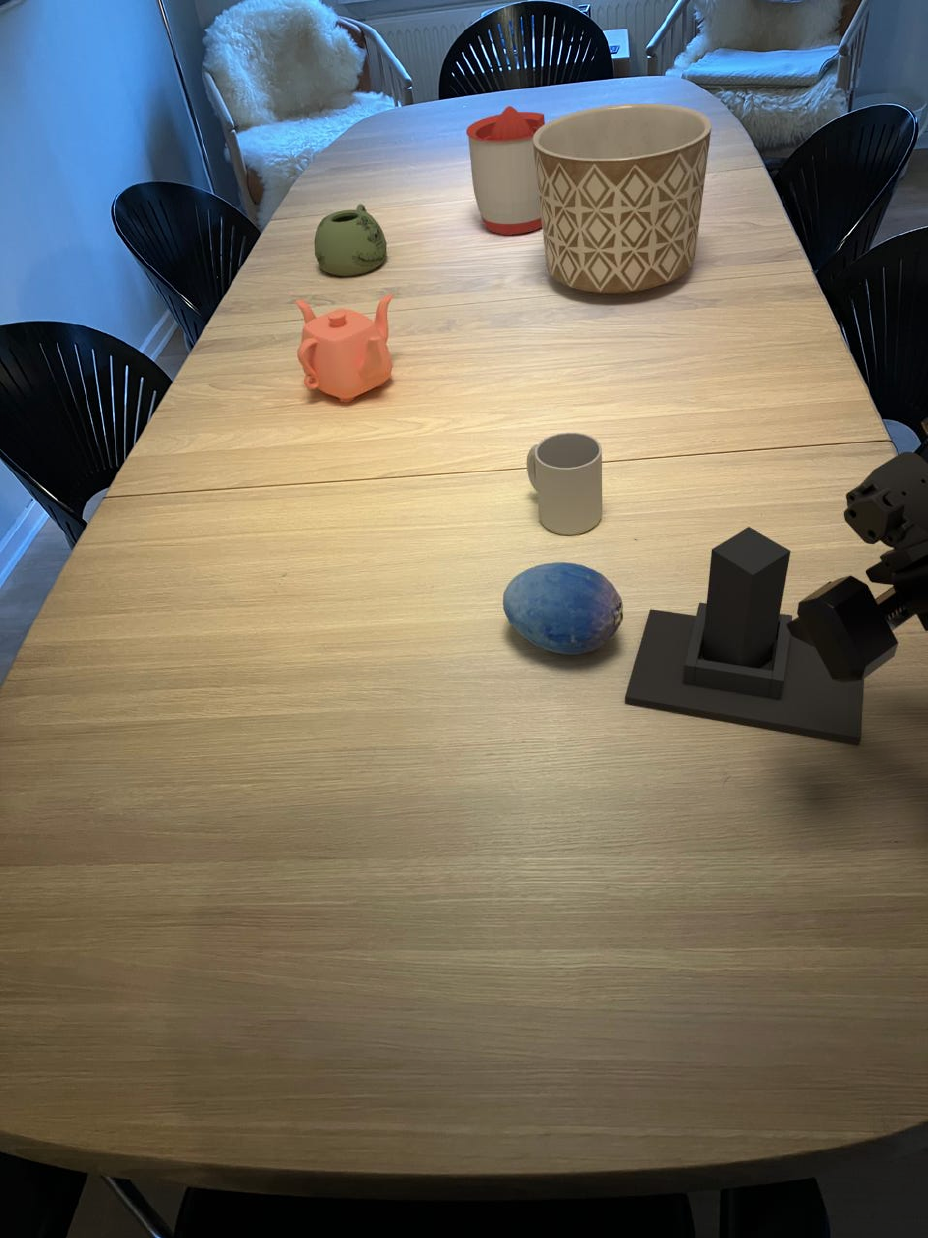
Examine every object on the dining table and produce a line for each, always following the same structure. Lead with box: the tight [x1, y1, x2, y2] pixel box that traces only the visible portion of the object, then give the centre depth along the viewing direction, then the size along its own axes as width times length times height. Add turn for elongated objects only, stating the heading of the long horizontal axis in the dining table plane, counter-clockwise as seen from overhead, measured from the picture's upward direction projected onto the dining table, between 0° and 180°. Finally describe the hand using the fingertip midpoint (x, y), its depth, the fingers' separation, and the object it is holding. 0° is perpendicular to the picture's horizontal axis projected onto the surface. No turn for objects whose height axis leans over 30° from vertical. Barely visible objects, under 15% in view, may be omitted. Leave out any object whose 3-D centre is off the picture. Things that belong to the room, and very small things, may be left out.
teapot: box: [295, 293, 395, 403], centre depth 130 cm, size 14×14×11 cm
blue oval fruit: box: [502, 561, 624, 655], centre depth 88 cm, size 9×9×15 cm
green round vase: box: [314, 203, 388, 277], centre depth 164 cm, size 16×13×9 cm
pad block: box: [702, 526, 791, 669], centre depth 81 cm, size 4×4×13 cm
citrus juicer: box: [465, 105, 546, 236], centre depth 165 cm, size 16×17×20 cm
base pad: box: [624, 602, 865, 746], centre depth 84 cm, size 20×12×4 cm, turn 71°
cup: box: [525, 432, 603, 536], centre depth 103 cm, size 7×10×9 cm
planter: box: [533, 103, 712, 296], centre depth 144 cm, size 26×26×22 cm
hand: (830, 601), depth 72 cm, fingers open, 9 cm apart
